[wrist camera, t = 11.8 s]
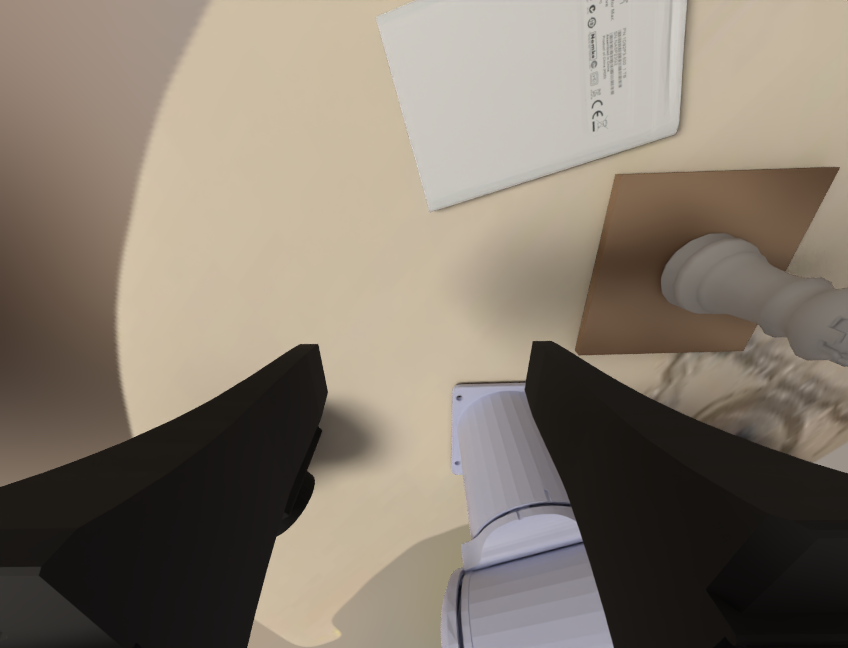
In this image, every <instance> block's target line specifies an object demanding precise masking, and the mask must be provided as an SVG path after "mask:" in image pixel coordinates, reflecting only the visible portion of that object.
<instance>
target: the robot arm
mask: <svg viewBox="0 0 848 648" xmlns="http://www.w3.org/2000/svg"><path fill="white" fill-rule="evenodd" d="M327 394H328V390H327V385H326V380H325V375H324V370H323V365H322V360H321V356H320V351H319V346H318V344H300V345H298V346H296V347H294V348H293V349H291V350H289V351H288V352H286V353H285V354H283V355H282V356H280V357H279V358H277V359H276V360H274V361H273V362H271V363H270V364H268V365H267V366H265V367H264V368H262V369H261V370H259V371H258V372H256V373H254V374H253V375H251V376H250V377H248V378H247V379H245V380H243V381H242V382H240V383H238V384H237V385H235V386H234V387H232V388H230V389H229V390H227V391H225V392H224V393H222V394H220V395H219V396H217V397H215V398H214V399H212V400H210V401H208V402H206V403H204V404H203V405H201V406H199V407H197V408H195V409H193V410H191V411H189V412H187V413H185V414H183V415H181V416H180V417H177V418H175V419H173V420H171V421H169V422H167V423H165V424H163V425H160V426H158V427H156V428H154V429H151V430H149V431H147V432H145V433H143V434H140V435H138V436H136V437H134V438H131V439H129V440H127V441H125V442H122V443H120V444H117V445H115V446H112V447H110V448H107V449H105V450H103V451H100V452H98V453H95V454H92V455H90V456H87V457H85V458H82V459H79V460H77V461H74V462H72V463H69V464H66V465H63V466H61V467H58V468H55V469H52V470H50V471H47V472H44V473H41V474H38V475H35V476H32V477H29V478H26V479H23V480H20V481H17V482H14V483H11V484H8V485H5V486H2V487H0V648H247V646H248V642H249V638H250V633H251V629H252V625H253V621H254V617H255V613H256V609H257V605H258V601H259V598H260V594H261V590H262V586H263V582H264V579H265V575H266V571H267V567H268V564H269V560H270V557H271V553H272V550H273V547H274V543H275V540H276V536H277V533H278V529H279V526H280V523H281V520H282V516H283V513H284V510H285V507H286V504H287V500H288V497H289V494H290V492H291V489H292V486H293V484H294V481H295V479H296V476H297V474H298V472H299V469H300V467H301V465H302V462H303V460H304V458H305V455H306V453H307V451H308V448H309V446H310V444H311V441H312V439H313V436H314V434H315V432H316V429H317V427H318V424H319V422H320V419H321V416H322V413H323V409H324V405H325V402H326V398H327ZM459 395H460V396H461V397H457V396H459ZM451 471H452V473H453V474H455V475H463V478H464V486H465V494H466V502H467V510H468V517H469V525H470V533H471V541H469V542H466V543H463V544H462V545H461V548H462V557H463V567H462V568H459V569H457V570H455V571H454V572H453V573H452V574H451V577H450V579H449V582H448V586H447V589H446V592H445V595H444V599H443V604H442V611H441V612H442V613H441V645H442V648H848V473H844V472H841V471H837V470H834V469H830V468H827V467H824V466H821V465H818V464H814V463H811V462H808V461H805V460H802V459H799V458H796V457H794V456H791V455H788V454H785V453H782V452H779V451H776V450H773V449H770V448H767V447H764V446H762V445H759V444H756V443H754V442H751V441H748V440H745V439H743V438H740V437H737V436H735V435H732V434H730V433H727V432H725V431H722V430H720V429H717V428H715V427H712V426H710V425H707V424H705V423H703V422H700V421H698V420H696V419H693V418H691V417H689V416H686V415H684V414H682V413H680V412H678V411H675V410H673V409H671V408H669V407H667V406H665V405H663V404H661V403H659V402H656V401H654V400H652V399H650V398H648V397H647V396H645V395H643V394H641V393H639V392H637V391H635V390H633V389H632V388H630V387H628V386H626V385H624V384H623V383H621V382H619V381H617V380H616V379H614V378H612V377H610V376H609V375H607V374H605V373H604V372H602V371H600V370H599V369H597V368H595V367H594V366H592V365H591V364H589V363H587V362H586V361H584V360H583V359H581V358H579V357H578V356H576V355H575V354H573V353H571V352H570V351H568V350H566V349H565V348H563V347H561V346H560V345H558V344H556V343H554V342H552V341H533V344H532V349H531V355H530V361H529V367H528V372H527V378H526V383H496V384H459V385H456V386H454V387H453V389H452V446H451Z"/></svg>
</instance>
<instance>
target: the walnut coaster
mask: <svg viewBox="0 0 848 648" xmlns="http://www.w3.org/2000/svg"><path fill="white" fill-rule="evenodd" d="M839 168H840V167H821V168H792V169H762V170H733V171H703V172H673V173H644V174H615V179H614V183H613V187H612V192H611V196H610V200H609V205H608V209H607V213H606V218H605V222H604V226H603V231H602V235H601V239H600V244H599V248H598V252H597V257H596V261H595V266H594V270H593V274H592V279H591V283H590V287H589V292H588V296H587V300H586V305H585V309H584V313H583V318H582V322H581V326H580V331H579V335H578V340H577V344H576V348H575V351H576V352H577V354H578V355H607V354H645V353H683V352H720V351H744V349H745V347H746V345H747V343H748V341H749V339H750V337H751V335H752V334H753V332H754V330H755V328H756V326H757V324H756V323H753V322H751V321H748V320H744V319H741V318H738V317H735V316H732V315H729V314H697V313H692V312H690V311H687V310H685V309H682V308H680V307H678V306H675V305H673V304H671V303H669V302H668V301H667V299H666V298H665V297H664V295H663V294H662V287H661V276H662V273H663V270H664V267H665V264H666V263H667V262H668V260H669V259H670V258H671V256H672V255H673V254H674V253H675V252H676V251H677V250H679V249H680V248H681V247H683V246H684V245H685V244H687V243H688V242H690V241H692V240H694V239H697V238H700V237H702V236H705V235H707V234H716V233H726V234H728V235H730V236H733V237H735V238H741V239H743V240H745V241H747V242H749V243H751V244H753V245H754V246H756V247H757V248H758V249H759V251H760V253H761V255H763V256H765V257H766V259H767V261H768V263H769V264H771V265H772V266H774V267H776V268H778V269H780V270H782V271H784V272H785V271H786V269H787V267H788V265H789V263H790V261H791V260H792V258H793V256H794V254H795V252H796V250H797V248H798V246H799V244H800V242H801V241H802V239H803V237H804V235H805V233H806V231H807V229H808V227H809V225H810V223H811V222H812V220H813V218H814V216H815V214H816V212H817V210H818V208H819V206H820V204H821V203H822V201H823V199H824V197H825V195H826V193H827V191H828V189H829V187H830V185H831V184H832V182H833V180H834V178H835V176H836V174H837V172H838V170H839Z"/></svg>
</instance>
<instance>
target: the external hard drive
mask: <svg viewBox="0 0 848 648" xmlns="http://www.w3.org/2000/svg"><path fill="white" fill-rule="evenodd" d="M686 12H687V0H415V1H413V2H410V3H407V4H405V5H402V6H400V7H398V8H395V9H393V10H390V11H388V12H386V13H383V14H381V15H378V16H377V17H376V21H377V25H378V28H379V32H380V35H381V39H382V43H383V46H384V50H385V53H386V57H387V61H388V64H389V68H390V71H391V75H392V79H393V82H394V86H395V89H396V93H397V97H398V100H399V104H400V107H401V111H402V115H403V118H404V122H405V125H406V129H407V132H408V136H409V140H410V143H411V147H412V150H413V154H414V158H415V161H416V165H417V169H418V172H419V176H420V179H421V183H422V187H423V190H424V194H425V197H426V201H427V204H428V208H429V212H433V211H436V210H439V209H442V208H445V207H449V206H452V205H455V204H458V203H461V202H465V201H468V200H471V199H474V198H477V197H480V196H483V195H487V194H490V193H493V192H496V191H499V190H502V189H506V188H509V187H512V186H515V185H518V184H521V183H524V182H527V181H531V180H534V179H537V178H540V177H543V176H546V175H550V174H553V173H556V172H559V171H562V170H565V169H568V168H572V167H575V166H578V165H581V164H584V163H587V162H591V161H594V160H597V159H600V158H603V157H606V156H609V155H613V154H616V153H619V152H622V151H625V150H628V149H631V148H634V147H637V146H641V145H644V144H647V143H650V142H653V141H656V140H660V139H663V138H666V137H669V136H672V135H675V134H676V132H677V129H678V126H679V121H680V104H681V87H682V70H683V55H684V39H685V25H686Z"/></svg>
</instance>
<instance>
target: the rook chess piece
mask: <svg viewBox="0 0 848 648" xmlns="http://www.w3.org/2000/svg"><path fill="white" fill-rule="evenodd" d="M661 287H662V294H663V295H664V297H665V298H666V299H667V301H668V302H669V303H671V304H673V305H675V306H678V307H680V308H682V309H685V310H687V311H690V312H692V313H697V314H729V315H732V316H735V317H738V318H741V319H744V320H748V321H751V322H753V323H756V324H758V325H760V327H761V328H762V330H763V331H764V333H765V334H767V335H770V336H772V337H787V338H788V340H789V343H790V346H791V348H792V350H793V351H794V353H795V355H796V356H798V357H801V358H803V359H805V360H830V361H832V362H835V363H837V364H839V365H841V366H843V367H846V366H848V288H842V289H834V287H833V285H832V283H831V282H829V281H827V280H825V279H823V278H807V279H804V278H801V277H798V276H794V275H791V274H789V273H787V272H784V271H782V270H780V269H778V268H776V267H774V266H772V265H771V264H769V263H768V261H767V259H766V257H765V256H763V255H761V253H760V251H759V249H758V248H757V247H756V246H754V245H753V244H751V243H749V242H747V241H745V240H743V239H741V238H735V237H733V236H730V235H728V234H726V233H716V234H707V235H705V236H702V237H700V238H697V239H694V240H692V241H690V242H688V243H687V244H685V245H684V246H683V247H681V248H680V249H679V250H677V251H676V252H675V253H674V254H673V255H672V256H671V258H670V259H669V260H668V262H667V263H666V264H665V267H664V270H663V273H662V276H661Z"/></svg>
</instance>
